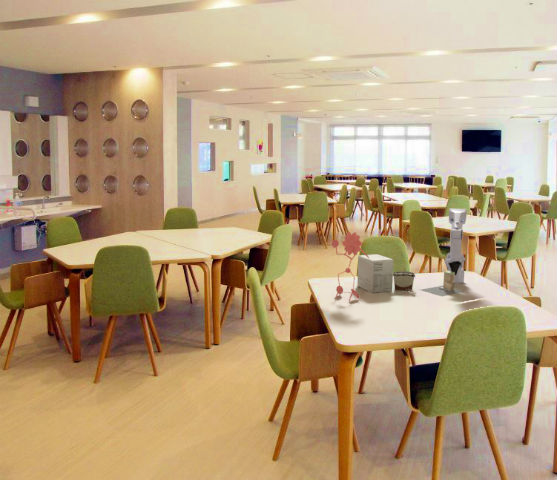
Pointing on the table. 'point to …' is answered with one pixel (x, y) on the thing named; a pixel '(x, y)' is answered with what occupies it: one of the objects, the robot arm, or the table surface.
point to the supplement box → (375, 273)
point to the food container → (403, 280)
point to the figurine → (351, 246)
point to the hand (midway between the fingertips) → (454, 274)
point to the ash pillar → (449, 280)
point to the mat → (441, 291)
